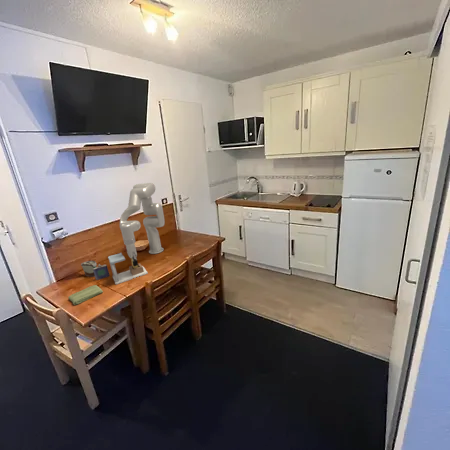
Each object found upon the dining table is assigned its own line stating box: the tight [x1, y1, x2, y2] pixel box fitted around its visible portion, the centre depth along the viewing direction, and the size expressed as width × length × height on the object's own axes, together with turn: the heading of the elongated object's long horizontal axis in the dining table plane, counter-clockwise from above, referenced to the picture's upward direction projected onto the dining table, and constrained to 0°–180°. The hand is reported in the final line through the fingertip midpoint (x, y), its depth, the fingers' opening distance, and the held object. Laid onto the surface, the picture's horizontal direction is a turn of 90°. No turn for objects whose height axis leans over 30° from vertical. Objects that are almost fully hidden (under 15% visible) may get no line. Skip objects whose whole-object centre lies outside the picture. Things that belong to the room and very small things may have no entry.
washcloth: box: [68, 284, 104, 306], centre depth 159 cm, size 13×18×3 cm
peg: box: [130, 256, 138, 269], centre depth 180 cm, size 4×4×12 cm
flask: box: [93, 263, 111, 281], centre depth 179 cm, size 9×3×11 cm, turn 121°
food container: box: [80, 260, 98, 278], centre depth 187 cm, size 12×6×10 cm, turn 71°
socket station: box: [107, 252, 149, 285], centre depth 178 cm, size 14×22×16 cm, turn 122°
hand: (135, 264), depth 180 cm, fingers closed on peg, 3 cm apart
